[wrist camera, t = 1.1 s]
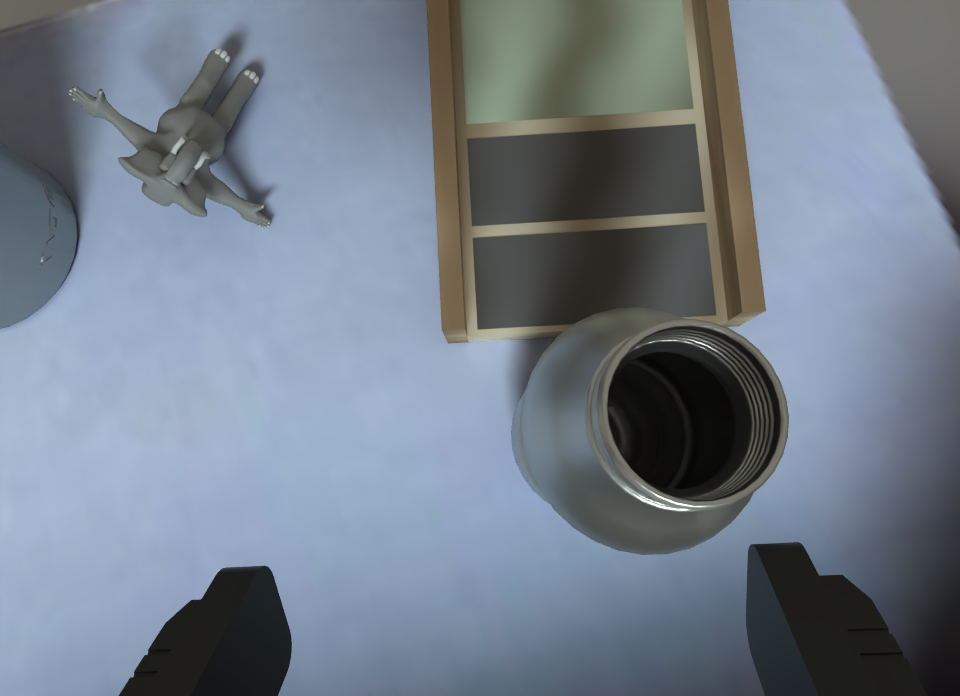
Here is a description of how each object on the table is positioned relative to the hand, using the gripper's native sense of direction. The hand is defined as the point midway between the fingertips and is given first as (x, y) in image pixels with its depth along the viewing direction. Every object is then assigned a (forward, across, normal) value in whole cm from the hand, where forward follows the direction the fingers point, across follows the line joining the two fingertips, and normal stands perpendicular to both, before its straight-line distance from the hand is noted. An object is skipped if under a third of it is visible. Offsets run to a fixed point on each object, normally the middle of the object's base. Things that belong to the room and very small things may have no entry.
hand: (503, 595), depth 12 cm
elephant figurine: (+27, +16, -5) cm, 32 cm away
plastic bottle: (+20, -2, +9) cm, 22 cm away
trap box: (+27, -3, -3) cm, 28 cm away
